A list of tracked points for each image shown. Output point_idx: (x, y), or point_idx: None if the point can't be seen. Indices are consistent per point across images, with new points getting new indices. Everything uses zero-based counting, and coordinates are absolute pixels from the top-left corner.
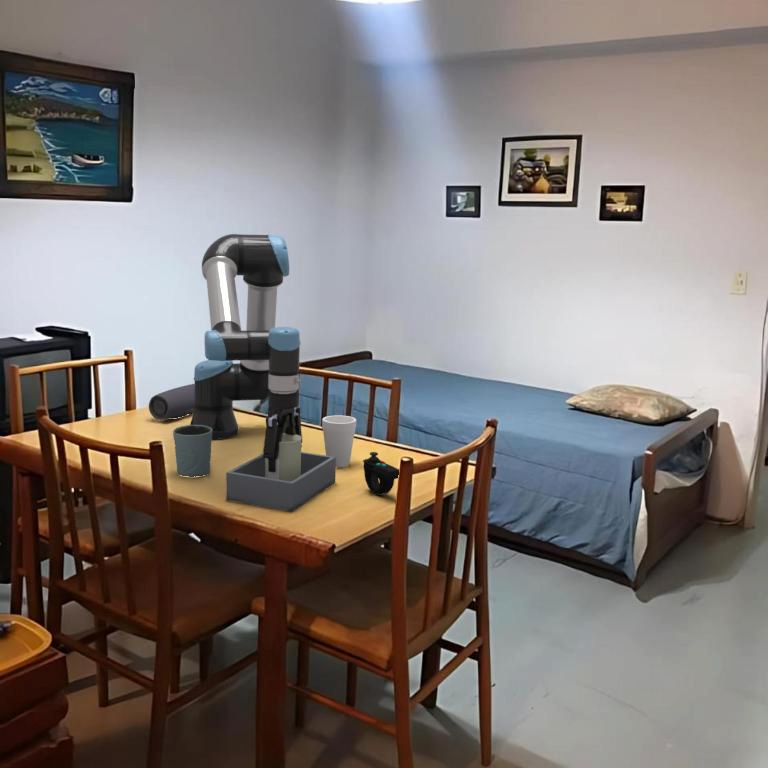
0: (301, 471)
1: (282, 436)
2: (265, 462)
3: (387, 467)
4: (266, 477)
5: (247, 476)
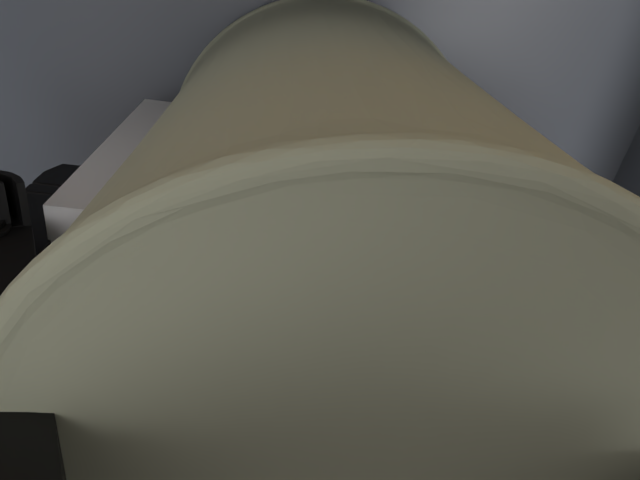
0: (635, 177)
1: (465, 458)
2: (220, 62)
3: None
4: (204, 59)
5: None
